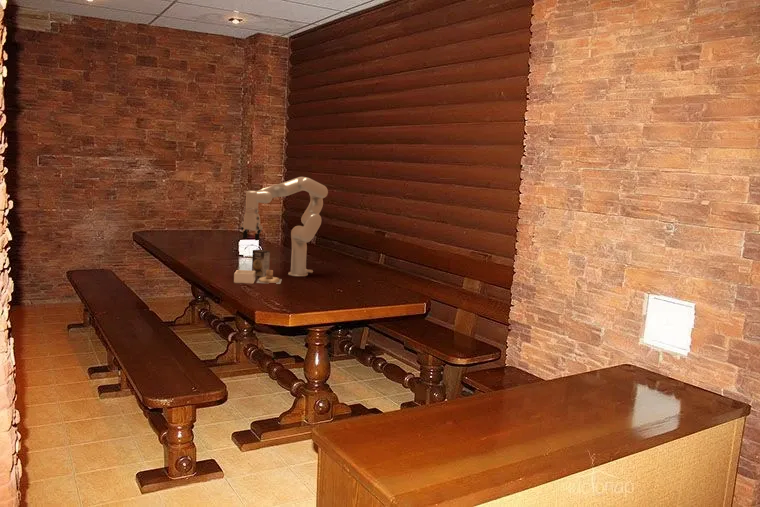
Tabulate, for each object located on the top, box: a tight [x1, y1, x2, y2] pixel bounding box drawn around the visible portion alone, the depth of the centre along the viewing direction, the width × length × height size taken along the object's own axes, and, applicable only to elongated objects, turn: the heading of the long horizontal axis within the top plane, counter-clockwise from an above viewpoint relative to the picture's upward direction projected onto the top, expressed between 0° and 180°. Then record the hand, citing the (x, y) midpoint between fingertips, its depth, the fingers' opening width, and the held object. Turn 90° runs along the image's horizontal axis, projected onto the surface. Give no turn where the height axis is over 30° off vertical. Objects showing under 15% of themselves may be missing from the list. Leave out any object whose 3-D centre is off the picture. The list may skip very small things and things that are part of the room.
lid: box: [258, 269, 281, 284], centre depth 375 cm, size 12×12×6 cm
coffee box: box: [251, 249, 271, 278], centre depth 390 cm, size 9×6×16 cm
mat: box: [255, 278, 283, 285], centre depth 375 cm, size 14×14×1 cm
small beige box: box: [233, 269, 256, 285], centre depth 370 cm, size 11×11×6 cm
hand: (251, 239), depth 382 cm, fingers open, 9 cm apart
